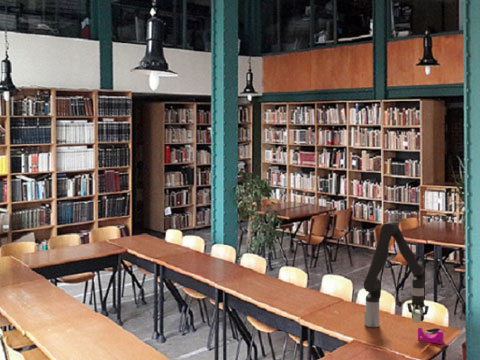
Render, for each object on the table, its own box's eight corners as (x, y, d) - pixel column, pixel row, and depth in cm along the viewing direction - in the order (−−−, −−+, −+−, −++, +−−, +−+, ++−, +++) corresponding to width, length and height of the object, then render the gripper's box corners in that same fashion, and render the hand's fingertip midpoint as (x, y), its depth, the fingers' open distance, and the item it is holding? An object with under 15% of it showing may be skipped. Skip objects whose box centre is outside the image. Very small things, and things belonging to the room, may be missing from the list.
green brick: (412, 322, 353) (412, 314, 353) (415, 318, 361) (415, 311, 361) (420, 323, 351) (420, 315, 351) (422, 319, 359) (422, 311, 359)
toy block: (443, 341, 350) (443, 329, 349) (442, 344, 344) (442, 332, 344) (419, 337, 356) (419, 326, 356) (417, 340, 350) (417, 329, 350)
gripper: (405, 293, 357) (405, 319, 358) (426, 297, 348) (426, 323, 348) (409, 291, 363) (409, 316, 363) (430, 294, 354) (430, 320, 354)
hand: (417, 319), depth 356 cm, fingers closed on green brick, 5 cm apart
